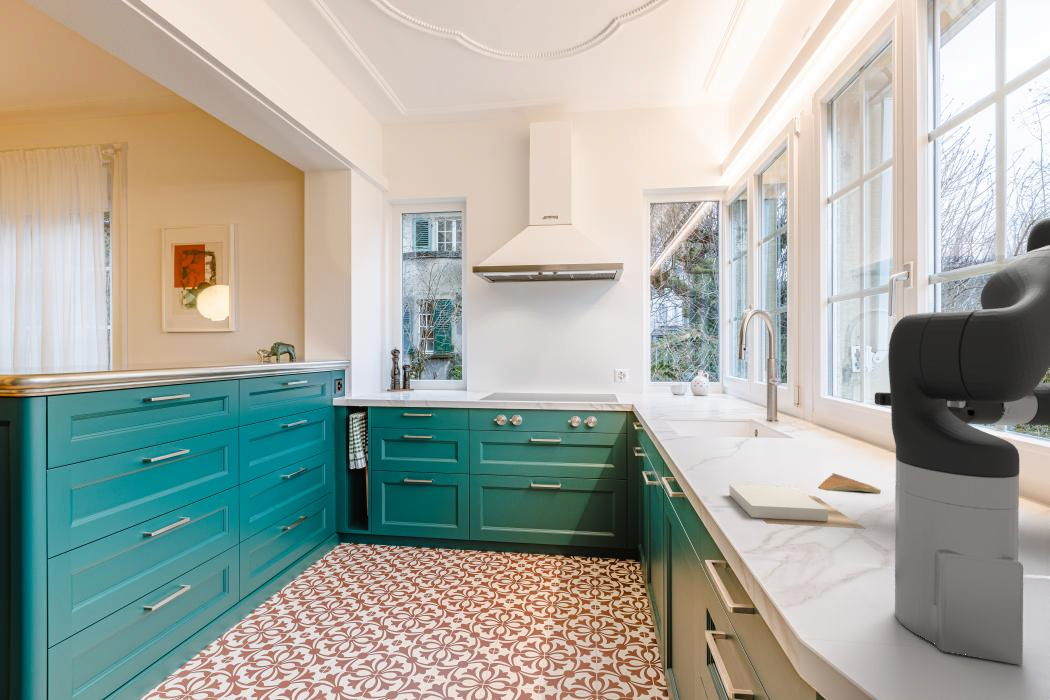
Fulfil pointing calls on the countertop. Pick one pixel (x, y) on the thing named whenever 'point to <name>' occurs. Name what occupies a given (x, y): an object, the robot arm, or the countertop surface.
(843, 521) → the plate
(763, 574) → the countertop surface
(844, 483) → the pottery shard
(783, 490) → the tile
